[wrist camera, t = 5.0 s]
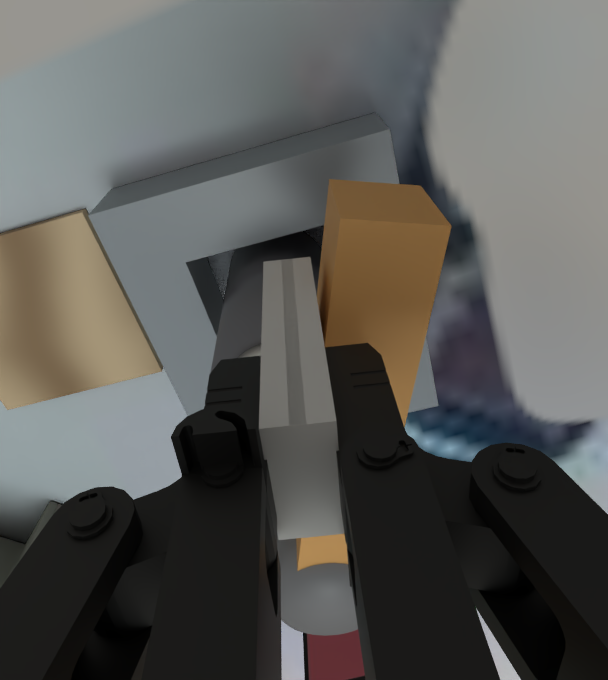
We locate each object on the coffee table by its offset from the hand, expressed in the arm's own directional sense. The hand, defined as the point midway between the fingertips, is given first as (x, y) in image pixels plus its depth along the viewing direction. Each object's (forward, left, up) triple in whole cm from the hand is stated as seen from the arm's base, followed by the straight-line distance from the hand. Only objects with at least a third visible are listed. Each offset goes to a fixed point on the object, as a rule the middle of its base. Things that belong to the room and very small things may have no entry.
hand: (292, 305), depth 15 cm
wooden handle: (0, +5, -1) cm, 5 cm away
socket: (+2, +4, -11) cm, 12 cm away
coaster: (+14, +3, -11) cm, 18 cm away
